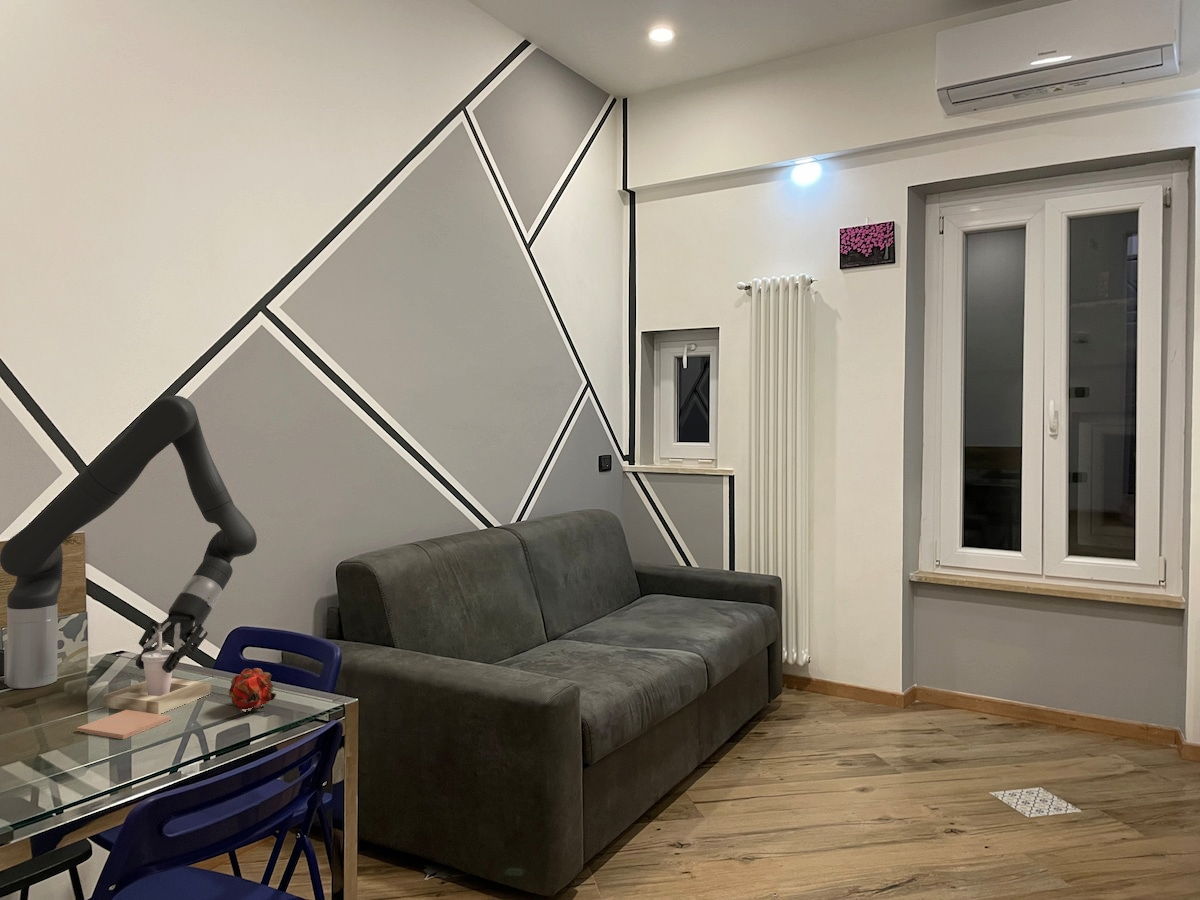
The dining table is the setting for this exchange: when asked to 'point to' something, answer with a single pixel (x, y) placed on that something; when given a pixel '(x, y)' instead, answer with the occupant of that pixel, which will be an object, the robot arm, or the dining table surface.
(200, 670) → the dining table surface
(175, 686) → the block
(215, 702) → the dining table surface
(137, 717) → the coaster
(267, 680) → the dragon fruit
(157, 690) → the smoothie
